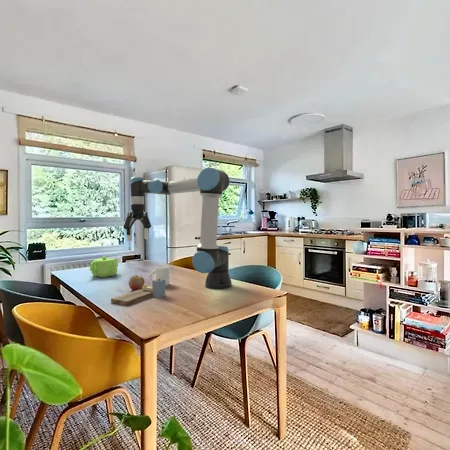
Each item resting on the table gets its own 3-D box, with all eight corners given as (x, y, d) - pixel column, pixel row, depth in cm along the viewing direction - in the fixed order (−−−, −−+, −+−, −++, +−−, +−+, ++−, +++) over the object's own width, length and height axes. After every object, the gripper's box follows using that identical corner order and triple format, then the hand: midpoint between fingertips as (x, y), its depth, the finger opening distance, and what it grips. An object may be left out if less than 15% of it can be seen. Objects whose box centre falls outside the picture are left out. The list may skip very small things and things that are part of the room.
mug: (152, 288, 162) (151, 269, 162) (146, 285, 169) (146, 267, 169) (171, 285, 169) (171, 267, 169) (166, 282, 176) (165, 265, 176)
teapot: (127, 275, 199) (127, 256, 198) (101, 280, 182) (101, 259, 181) (110, 272, 208) (110, 254, 208) (84, 277, 192) (83, 257, 191)
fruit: (140, 292, 154) (140, 277, 153) (126, 291, 155) (126, 276, 155) (146, 288, 162) (146, 274, 161) (133, 287, 163) (133, 273, 163)
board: (158, 293, 150) (158, 289, 150) (127, 305, 131) (126, 301, 131) (144, 291, 155) (143, 287, 155) (111, 302, 135) (110, 298, 135)
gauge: (165, 295, 148) (165, 277, 148) (158, 297, 143) (158, 279, 143) (147, 292, 153) (146, 275, 153) (140, 294, 149) (140, 277, 148)
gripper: (147, 204, 184) (148, 238, 185) (116, 203, 162) (117, 241, 163) (156, 204, 181) (157, 238, 181) (126, 203, 158) (127, 241, 159)
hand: (138, 240), depth 172 cm, fingers open, 13 cm apart
